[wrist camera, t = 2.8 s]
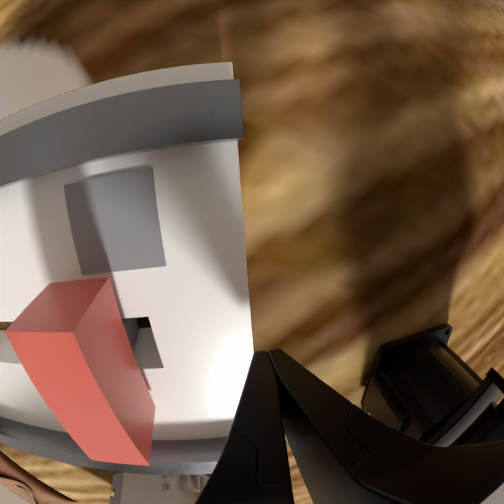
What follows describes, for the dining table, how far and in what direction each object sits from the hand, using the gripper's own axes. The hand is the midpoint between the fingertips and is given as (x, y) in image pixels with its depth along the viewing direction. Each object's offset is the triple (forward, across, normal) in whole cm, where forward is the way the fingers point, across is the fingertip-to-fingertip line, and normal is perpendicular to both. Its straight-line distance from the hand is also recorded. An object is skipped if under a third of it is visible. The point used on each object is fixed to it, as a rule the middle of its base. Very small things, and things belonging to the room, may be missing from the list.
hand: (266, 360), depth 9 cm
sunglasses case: (+5, +34, +27) cm, 43 cm away
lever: (+4, +6, 0) cm, 7 cm away
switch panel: (+4, +10, 0) cm, 11 cm away
